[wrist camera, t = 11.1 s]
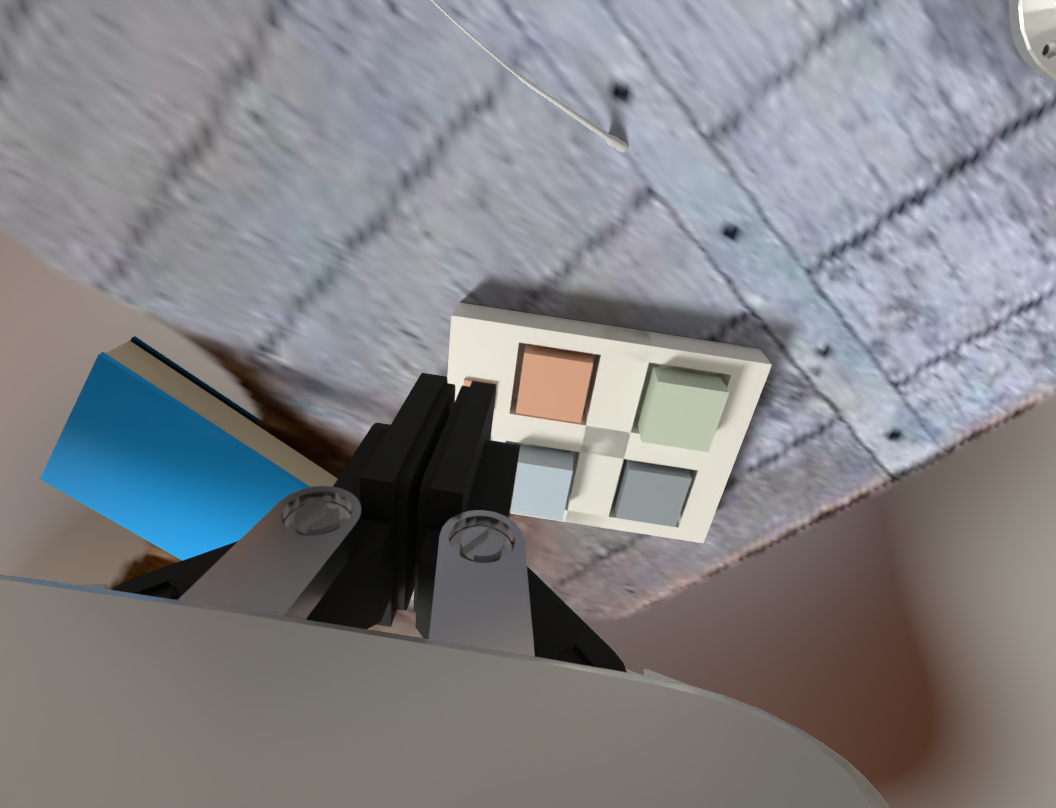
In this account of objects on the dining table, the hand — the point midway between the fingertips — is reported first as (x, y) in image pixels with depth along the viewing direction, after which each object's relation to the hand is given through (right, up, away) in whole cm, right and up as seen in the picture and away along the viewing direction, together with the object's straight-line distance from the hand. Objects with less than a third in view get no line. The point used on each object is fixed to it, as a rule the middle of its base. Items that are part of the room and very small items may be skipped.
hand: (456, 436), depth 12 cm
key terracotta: (+4, +3, +30) cm, 30 cm away
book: (-27, -6, +40) cm, 49 cm away
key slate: (+12, -6, +34) cm, 36 cm away
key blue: (+2, -5, +33) cm, 33 cm away
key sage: (+13, +1, +29) cm, 31 cm away
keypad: (+7, -1, +33) cm, 34 cm away
